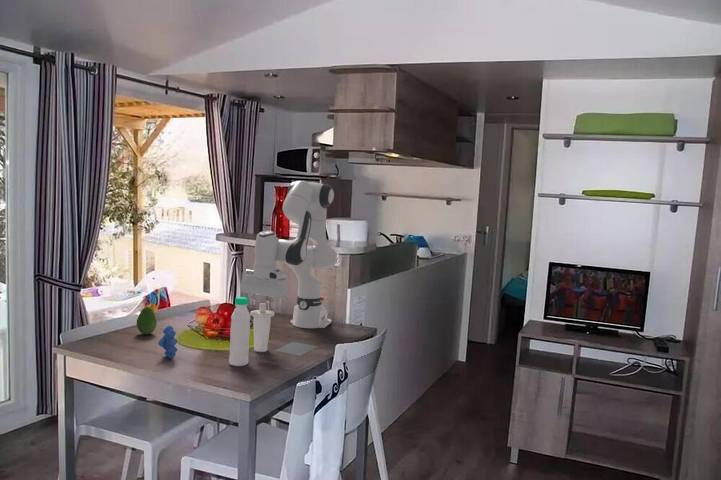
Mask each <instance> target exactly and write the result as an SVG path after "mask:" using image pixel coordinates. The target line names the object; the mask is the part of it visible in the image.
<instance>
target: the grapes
mask: <svg viewBox="0 0 721 480" xmlns="http://www.w3.org/2000/svg"><path fill="white" fill-rule="evenodd" d="M162 332H163V336H162V338H160V339H159V340H158V342H157V344H158V346H160V348H162V349H163V350H165V352H164V355H165V356H166V357H167V358H168V359H170V360H173V359H174V358H175V356H176V355H177V354H176V353H177V352H178V348H177V347H176V346H175V345H177V344H178V340H177V339H176V338H175V336H176V334H177V333H176V331H175V329H174V328H173V326H172V325H170V324H168V325H167V326H166V327H165V328H164V329H163V330H162Z"/></svg>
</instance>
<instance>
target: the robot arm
mask: <svg viewBox="0 0 721 480" xmlns="http://www.w3.org/2000/svg"><path fill="white" fill-rule="evenodd" d="M286 192H287V193H286V197H285V199H284V201H283V204H282V212H283V214H284V216H285V217H286V218H287V220H289V221H291V222H292V223H294V224H296V225H298V229H297V232H296V233H297V234H296V238H294V239H292V240H290V239H281V238H279V237H277V234H276V232H275V231H272V230H266V231H265V230H263V231H259V233H257V234H256V239H255V244H254V262H253V270H251V269H245V270H243V272H242V274H241V282H240V291H241V293H246V294H247V296H248V297H247V298H248V300H250V302H249V303H250V306H251V305H253V306H255V305H256V304H257V302H256V301H257V300H256V299H255V298H254V296H255V295H259V296H265V297H271V298H272V300H273V302H271V303H270V306H269V308H271V309H275V308H276V307H277V303H278V301H279V299H284V298H286V297H287V296H288V291H289V289H288V285H289V284H288V280H287V279H286V278H288V277H287V276H288V274H287V272H286V271H283V270H281V269H279V268H278V267H277V263H280V264H286V265H287V266H288V267H289V268H290V269H292V271H293V273H294V274H295V275H296V279H297V282H298V283H297V285H298V286H297V287H298V288H297V289H298V290H297V297H296V305H295V306H294V307H293V314H292V315H293V317H292V319H291V320H290V324H292V325H293V326H294V327H297V328H302V329H324V328H325V329H326V327H328V325H330V324H331V323H332V322H333V321H332V319H330V318H328V310H327V308H325V306H323V305H322V304H323V301H325V297H324V296H321V295H322V294H321V293H322V283H321V282H322V281H321V280H320V279H319V278H318V277H317V276H315V275H313V274H312V273H311V270H327V269H332V268H334V267H335V265H336V264H337V262H338V254H337V252H336V250H335V249H334V247H332V246H331V244H329V241H328V239H327V235H326V234H327V232H326V231H327V230H326V229H327V214H328V213H327V208H328V207H329V206H330V205H332V203H333V201H334V198H335V190H334V187H332V185H330V184H327V183H321V182H315V181H306V180H296V181H291V183H289V185H288V187H287V191H286ZM309 241H312V246H308V242H309Z"/></svg>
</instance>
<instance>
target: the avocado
mask: <svg viewBox="0 0 721 480" xmlns="http://www.w3.org/2000/svg"><path fill="white" fill-rule="evenodd" d="M136 327H137V330H138V332H140V333H141V334H142V335H146V336H148V335H151V334H152V333H153V332H154V331H155V330H156V327H157V318H156V315H155V311H154V309H153V307H151V306H145V307H143V308H142V309H141V311H140V313H139V314H138V316H137V319H136Z"/></svg>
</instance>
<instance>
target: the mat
mask: <svg viewBox="0 0 721 480" xmlns="http://www.w3.org/2000/svg"><path fill="white" fill-rule="evenodd" d="M316 348H318V345H313V344H306V343H301V342H295V341H291V342H290V343H288V344H286V345H284V346H281V347H279V348H277V349H274V350H273V352H277V353H282V354H287V355H293V356H299V357H301V356H302V355H304V354H307V353H309V352H311V351H312V350H315V349H316Z"/></svg>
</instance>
